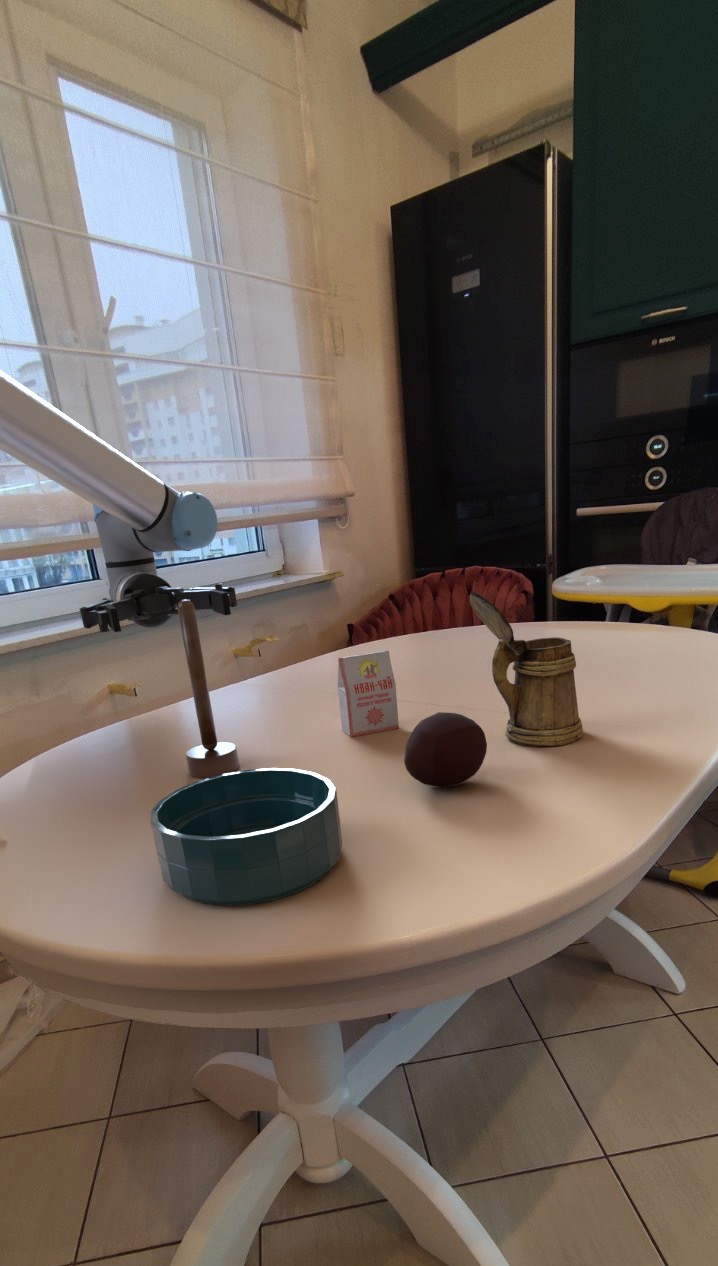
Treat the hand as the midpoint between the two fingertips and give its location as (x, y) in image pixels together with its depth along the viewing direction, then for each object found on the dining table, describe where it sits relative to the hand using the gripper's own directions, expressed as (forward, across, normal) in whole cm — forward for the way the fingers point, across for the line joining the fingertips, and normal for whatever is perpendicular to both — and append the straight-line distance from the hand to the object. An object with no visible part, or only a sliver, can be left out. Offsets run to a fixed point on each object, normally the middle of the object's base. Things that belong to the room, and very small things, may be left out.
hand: (172, 612), depth 89 cm
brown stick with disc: (+10, 0, -18) cm, 20 cm away
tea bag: (+7, -22, -18) cm, 29 cm away
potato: (+31, -19, -18) cm, 41 cm away
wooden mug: (+24, -35, -18) cm, 46 cm away
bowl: (+37, +3, -18) cm, 41 cm away
